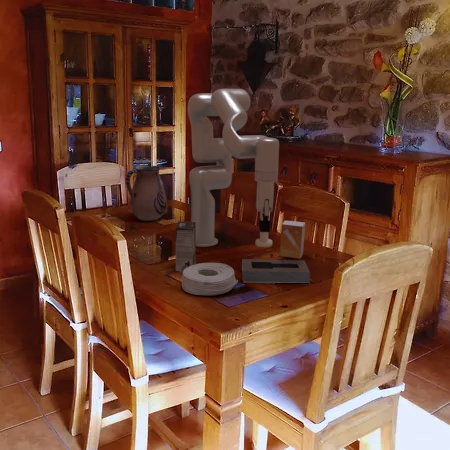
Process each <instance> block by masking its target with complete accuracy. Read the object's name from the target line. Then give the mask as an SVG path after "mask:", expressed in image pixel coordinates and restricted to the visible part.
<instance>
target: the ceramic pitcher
mask: <svg viewBox="0 0 450 450" xmlns="http://www.w3.org/2000/svg"><path fill="white" fill-rule="evenodd" d="M160 169H161V168H160V166H158V165H152V166H149V165H147V164H146V165H137V166H134V167H133V168H132V169H130V170H129V171H127V174H126V176H125V184H126V188H127V191H128V194H129V195H130V197H129V209H130V212H131V213H132V215H133V216H134V217H135V218H136V219H137V220H139V221H143V222H150V221H157V220H159V219H160V218H161V217H162V216H163V215H164V214H165V212H166V211H167V207H168V205H167V204H168V199H167V195H166V190H165V187H164V183H163V180H162V179H161V176H160ZM134 174H136V177H135V179H134V182H133V186H131V185H132V184H131V178H132V175H134Z"/></svg>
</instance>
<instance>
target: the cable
mask: <svg viewBox="0 0 450 450" xmlns="http://www.w3.org/2000/svg"><path fill="white" fill-rule="evenodd" d="M238 283H239V280H238V279H236V277H235V270H234V269H233V267H231V266H230V265H228V264H226V263H220V262H202V263H201V262H200V263H195V265H192V266H190V267H188V268H186V269H184V271H183V272H182V277H181V287H182V289H183V291H185V292H186V293H189V294H191V295H197V296H218V295H223V294H226V293H228V292H229V291H231V290H232V289H233V288H234V287H235V286H237V285H238Z"/></svg>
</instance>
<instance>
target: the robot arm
mask: <svg viewBox="0 0 450 450" xmlns="http://www.w3.org/2000/svg"><path fill="white" fill-rule="evenodd" d="M187 102H188V103H187V115H188V119H189V121H190V126H191V150H192V158H193V161H194V162H196V163H199V164H200V163H204V164H206V163H216V165H203V166H196V167H194V168H193V169H191V170H190V172H189V175H188V179H189V181H188V183H189V187H190V201H191V203H190V204H191V205H190V207H191V209H190V210H191V211H190V212H191V213H190V220H191V221H190V222H196V231H195V247H198V248H199V247H200V248H205V247H212V246H216V245H217V244H218V242H219V239H218V238H216V237H215V214H216V213H215V212H216V203H215V202H216V200H215V198H214V197H213V194H212V193H211V191H212V190H222V189H227V188H229V187H230V185H231V184H232V178H233V162H232V161H233V160H232V157H233V158H235V159H238V160H240V159H254V161H255V163H254V181H255V182H257V183H256V184H257V185H256V198H255V200H256V201H255V207H256V211H257V212H259V219H258V221H259V222H258V225H259V226H258V229H259V233H260V232H269V233H270V229H271V218H270V217H271V212H273V207H274V206H273V205H274V194H275V192H274V191H275V182H276V183H277V182H278V181H279V179H278V178H279V159H280V156H279V155H280V154H279V153H280V141H279V139H278V138H275V137H268V136H266V135H263V134H257V135H256V134H255V135H239V134H238V133H237V131H239V130H240V129H242V128H243V127H244V126H245V125H246V124H247V122H248V113H247V111H248V110H249V108H250V107H251V97H250V95H249V93H248V92H247V91H246V90H244V88H243V89H242V88H218V89H216V90H215V91H214V92H207V93H206V92H202V93H195V94H193V95H192V96H191V97H190V98H189V100H188V101H187ZM208 117H219V118H220V120H221V121H222V122H223V127H222V137H214V126H213V123H212V122H211V119H209V118H208ZM263 209H265V211H263ZM263 213H264V214H263Z"/></svg>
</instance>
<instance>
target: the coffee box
mask: <svg viewBox="0 0 450 450" xmlns="http://www.w3.org/2000/svg"><path fill="white" fill-rule="evenodd" d="M195 231H196V222H191V221H187V220H185V221H184V220H183V221H181V220H180V221H178V222H177V224H176V227H175V272H176V271H180V272H179V273H183V271H184V269H186V268H188V267H190V266H192V265H196V246H195Z"/></svg>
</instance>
